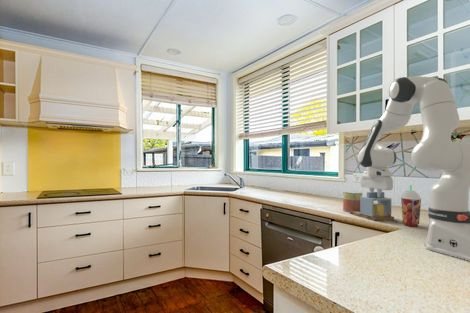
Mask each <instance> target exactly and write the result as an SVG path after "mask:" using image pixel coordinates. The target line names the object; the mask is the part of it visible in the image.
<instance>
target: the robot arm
mask: <svg viewBox="0 0 470 313" xmlns="http://www.w3.org/2000/svg"><path fill="white" fill-rule="evenodd" d="M388 96H389V100H388V101H387V104H386V107H385V111H384V112H383V114H382V116H381V117H380V118H379V119H377V120H376V121H374V123H373V124H372V126H371V128H370V130H369V131H368V134H367V137H366V139H365V141H364V142H363V145H362V147H361V148H360V149H359V151H358V153H357V158H356V159H357V162H358V163H359V165H361V166H362V167H364V168H366V171H363V172H362V174H361V179H360V186H361V187H362V188H367V189H369V192H375V190H376V192H377V194H376V197H380V194H381V192H383V191H392V190H393V188H394V180H393V172H392V171H391V170H388V169H385V168H386V167H391V166H393V165H395V163H396V162H397V153H396V152H395V150H394V149H392V148H389V147H386V146H385V145H384V144H385V143H383V142H378V141H379V139H380V138H381V136H383V135H386V134H387V133H390V132H392V131H396V130H401V129H403V127H405V126H406V125H407V124H408V123H409V122H410V119H411V116H412V114H413V110H414V107H415V105H416V104H418V105H419V110H420V114H421V115H420V116H421V122H422V128H423V129H422V136H421V138H420V141H419V142H418V143H417V144H416V145H415V146H414V147H413V149H412V151H411V154H410V158H411V163H412V164H413V165H414V167H416V168H417V169H419V170H425V171H428V172H441V174H440V175H441V176H440V177H439V179H438V180H437V181H436V182H434V183H433V184H431V186H430V188H429V207H428V210H427V211H428V215H427V217H428V219H429V221H428V229H427V234H426V238H425V241H424V246H426V249H427V250H428V251H429V250H430V251H433V252H436V253H439V254H443V255H446V256H451V257H453V256H454V258H457V257H458V258H457V259H460V258H461V260H464V259H465V260H464V261H467V260H468V262H470V210H469V201H470V200H469V199H470V198H469V197H470V195H469V194H470V142H469V141H453V140H452V133H453V131H455V130H456V129H458V127H459V126H460V123H461V119H460V116H459V112H458V107H457V104H456V103H457V102H456V99H455V96H454V94H453V91H452V89H451V88H450V86H449V84H448V82H447V80H446V79H445V78H441V77H438V76H437V77H436V76H434V77H431V76H430V77H429V76H419V75H418V76H408V77H406V76H403V77H398V78H395V79H394V80H393V81H392V82H391V84H390V85H389V89H388Z"/></svg>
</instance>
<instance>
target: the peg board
mask: <svg viewBox="0 0 470 313" xmlns="http://www.w3.org/2000/svg"><path fill="white" fill-rule="evenodd" d="M349 213H350V215H353V216H356V217H360V218H364V219H366V218H367V220H369V221H370V220H371V221H373V222H375V221H376V222H377V221H378V222H379V221H391V220H392V221H395V216H392V210H391V211H387V215H385V214H384V216H380V217H379V212H376V216H373V217H371V216H368V215H364V214H361V213H360V211H350V212H349Z"/></svg>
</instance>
